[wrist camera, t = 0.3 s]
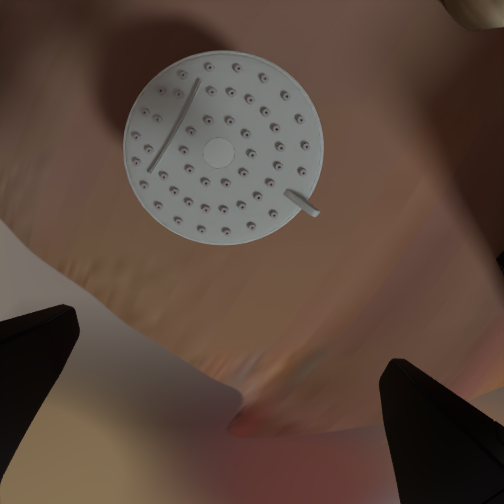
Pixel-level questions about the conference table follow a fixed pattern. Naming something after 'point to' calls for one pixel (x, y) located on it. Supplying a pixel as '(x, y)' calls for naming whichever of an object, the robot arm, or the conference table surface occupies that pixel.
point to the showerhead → (223, 148)
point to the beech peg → (477, 13)
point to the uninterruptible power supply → (501, 261)
